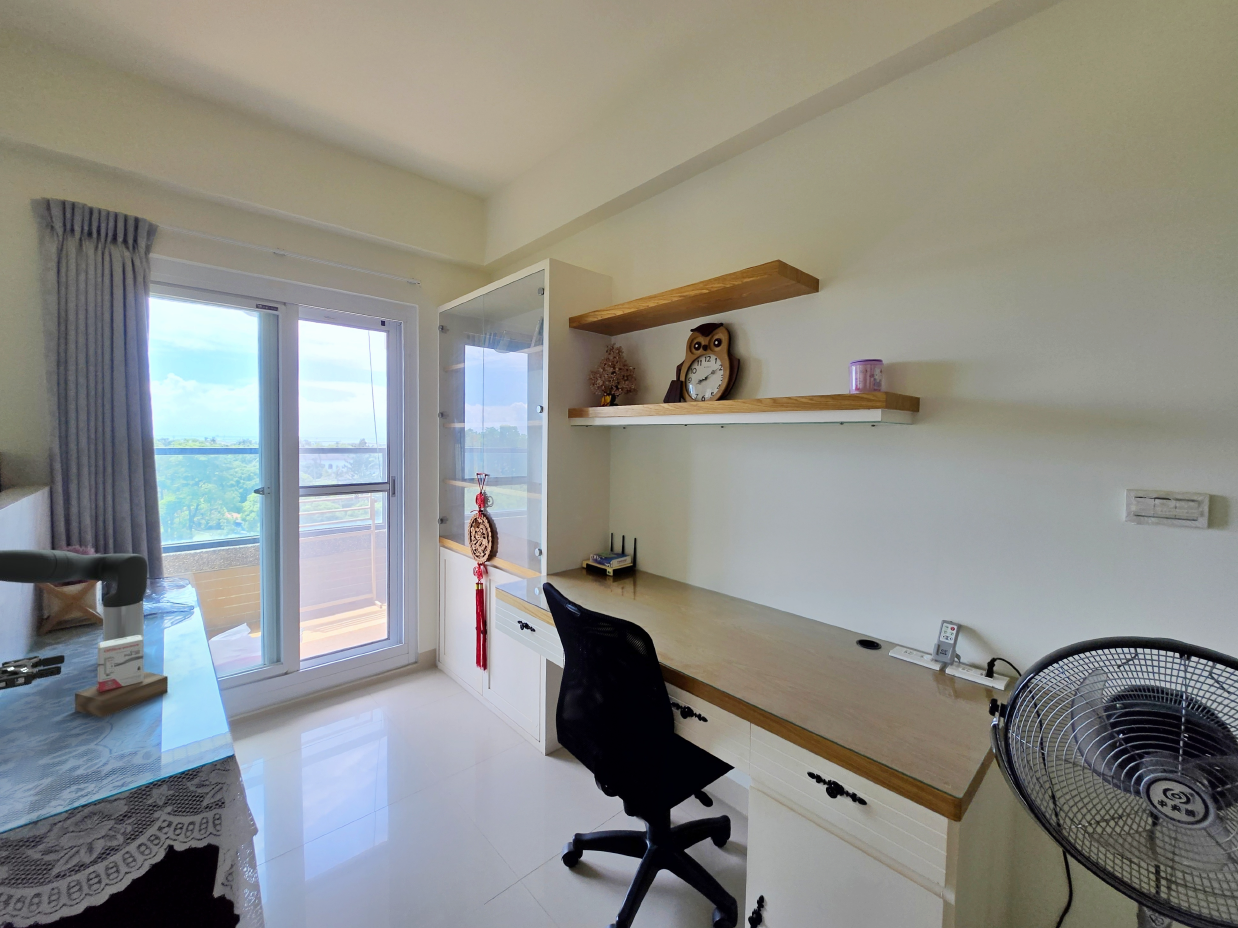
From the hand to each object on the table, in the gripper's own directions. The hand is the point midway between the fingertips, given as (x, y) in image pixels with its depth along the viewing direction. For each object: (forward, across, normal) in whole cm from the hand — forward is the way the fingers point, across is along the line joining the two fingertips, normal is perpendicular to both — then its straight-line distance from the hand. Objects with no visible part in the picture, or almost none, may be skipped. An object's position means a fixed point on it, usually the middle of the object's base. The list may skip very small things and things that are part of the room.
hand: (62, 663), depth 125 cm
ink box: (+10, 0, +9) cm, 13 cm away
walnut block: (+11, 0, +14) cm, 17 cm away
